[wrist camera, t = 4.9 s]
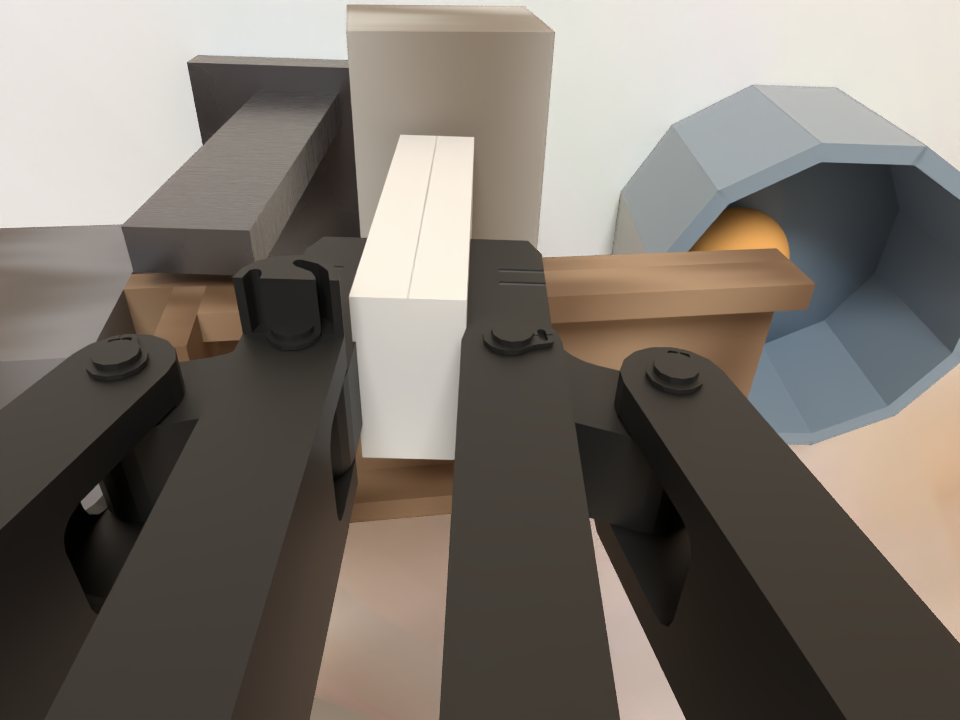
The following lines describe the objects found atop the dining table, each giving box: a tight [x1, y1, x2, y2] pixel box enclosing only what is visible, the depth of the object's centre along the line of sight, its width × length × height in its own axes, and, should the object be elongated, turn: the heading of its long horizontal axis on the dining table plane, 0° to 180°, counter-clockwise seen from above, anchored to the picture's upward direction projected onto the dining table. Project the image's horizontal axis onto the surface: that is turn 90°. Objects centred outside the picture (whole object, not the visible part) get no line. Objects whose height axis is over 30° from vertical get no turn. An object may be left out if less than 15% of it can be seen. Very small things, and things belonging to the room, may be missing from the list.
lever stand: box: [121, 55, 361, 275], centre depth 26 cm, size 8×13×14 cm, turn 178°
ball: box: [688, 207, 790, 259], centre depth 29 cm, size 4×4×4 cm
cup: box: [612, 85, 960, 445], centre depth 28 cm, size 12×12×7 cm
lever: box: [0, 5, 816, 523], centre depth 19 cm, size 25×14×7 cm, turn 88°
